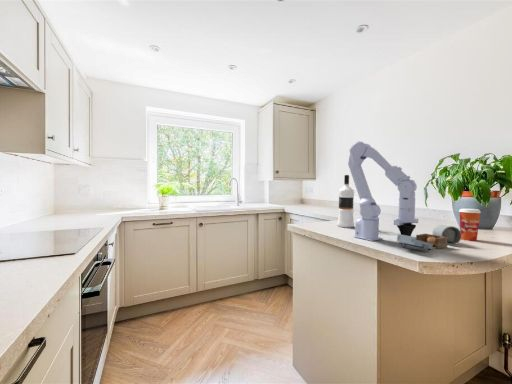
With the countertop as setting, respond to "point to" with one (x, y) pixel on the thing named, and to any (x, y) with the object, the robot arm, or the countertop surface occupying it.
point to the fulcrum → (416, 247)
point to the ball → (431, 240)
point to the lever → (413, 241)
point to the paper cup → (469, 223)
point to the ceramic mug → (448, 233)
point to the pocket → (439, 240)
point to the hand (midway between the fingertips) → (405, 241)
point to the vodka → (346, 205)
